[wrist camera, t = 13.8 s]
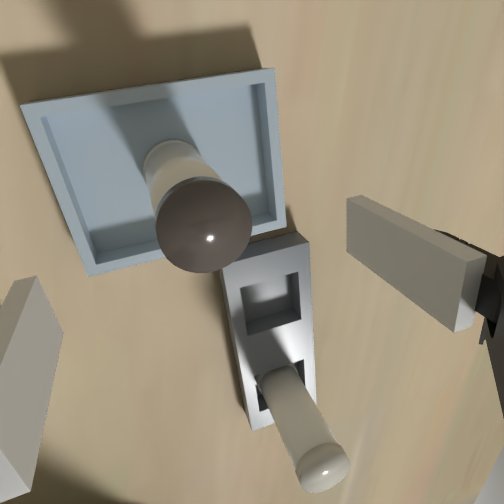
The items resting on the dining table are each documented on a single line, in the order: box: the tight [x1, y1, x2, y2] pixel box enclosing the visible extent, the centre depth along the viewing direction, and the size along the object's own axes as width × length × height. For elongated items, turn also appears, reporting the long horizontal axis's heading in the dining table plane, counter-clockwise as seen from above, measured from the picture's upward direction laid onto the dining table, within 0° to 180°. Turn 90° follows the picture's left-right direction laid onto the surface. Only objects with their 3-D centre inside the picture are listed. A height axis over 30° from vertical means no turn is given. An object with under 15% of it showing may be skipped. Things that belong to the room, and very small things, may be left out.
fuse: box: [255, 363, 350, 493], centre depth 36 cm, size 5×5×12 cm
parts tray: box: [20, 68, 287, 277], centre depth 27 cm, size 16×12×2 cm
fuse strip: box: [218, 231, 316, 431], centre depth 37 cm, size 8×22×2 cm, turn 6°
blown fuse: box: [143, 139, 252, 273], centre depth 22 cm, size 5×5×12 cm
